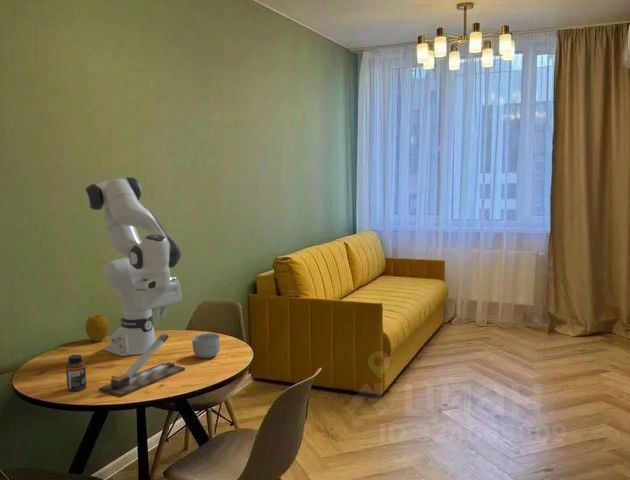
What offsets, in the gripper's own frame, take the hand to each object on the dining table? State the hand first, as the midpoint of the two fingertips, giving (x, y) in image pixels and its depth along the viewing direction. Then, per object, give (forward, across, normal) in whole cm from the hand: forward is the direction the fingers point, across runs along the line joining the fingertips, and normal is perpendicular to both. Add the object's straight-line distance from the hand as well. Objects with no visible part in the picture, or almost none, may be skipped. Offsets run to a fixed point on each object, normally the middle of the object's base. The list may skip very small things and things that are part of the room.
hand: (159, 318), depth 198 cm
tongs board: (+20, +8, -1) cm, 22 cm away
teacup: (+20, -24, 0) cm, 32 cm away
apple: (+19, -18, -58) cm, 63 cm away
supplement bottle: (+20, +25, -14) cm, 35 cm away
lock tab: (+16, +19, -1) cm, 25 cm away
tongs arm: (+12, +6, 0) cm, 14 cm away
